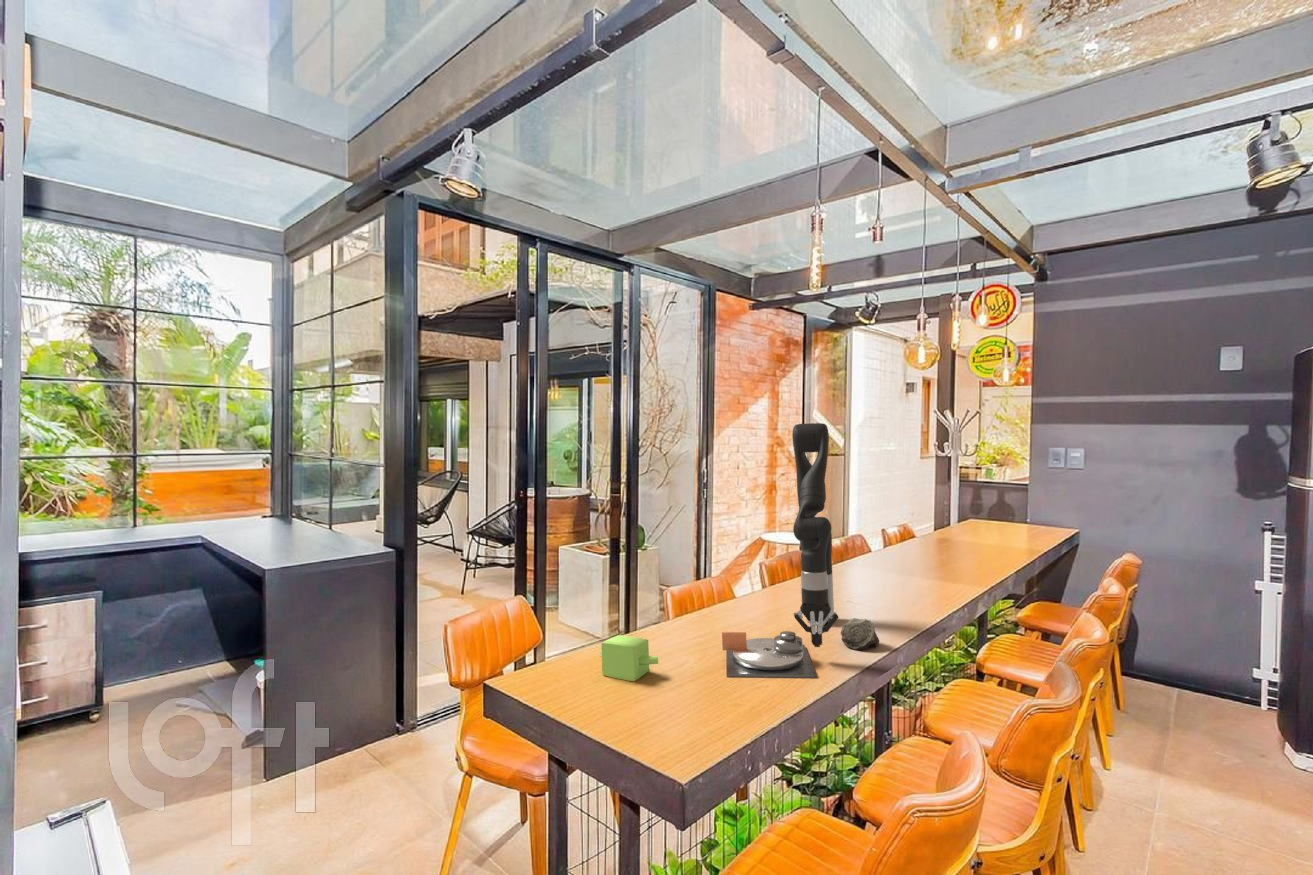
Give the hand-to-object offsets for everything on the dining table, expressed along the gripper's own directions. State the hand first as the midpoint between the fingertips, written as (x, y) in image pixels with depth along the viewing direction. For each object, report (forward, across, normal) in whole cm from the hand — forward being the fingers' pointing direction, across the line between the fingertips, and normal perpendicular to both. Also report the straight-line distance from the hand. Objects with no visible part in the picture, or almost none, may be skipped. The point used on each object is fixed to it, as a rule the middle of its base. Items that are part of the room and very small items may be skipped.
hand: (816, 646), depth 169 cm
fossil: (+5, -15, -14) cm, 21 cm away
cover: (+1, +8, 0) cm, 8 cm away
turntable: (+3, +16, 0) cm, 16 cm away
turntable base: (+4, +14, 0) cm, 15 cm away
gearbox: (+5, +53, +10) cm, 54 cm away
